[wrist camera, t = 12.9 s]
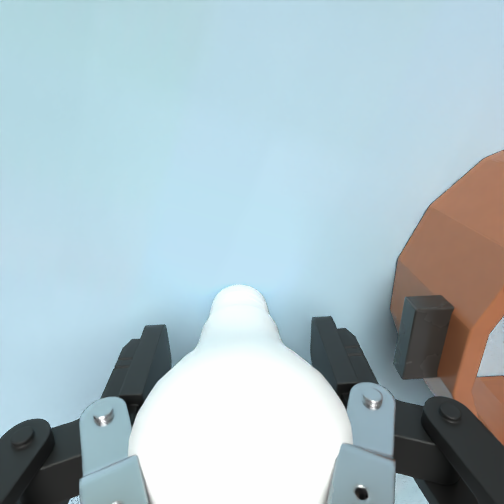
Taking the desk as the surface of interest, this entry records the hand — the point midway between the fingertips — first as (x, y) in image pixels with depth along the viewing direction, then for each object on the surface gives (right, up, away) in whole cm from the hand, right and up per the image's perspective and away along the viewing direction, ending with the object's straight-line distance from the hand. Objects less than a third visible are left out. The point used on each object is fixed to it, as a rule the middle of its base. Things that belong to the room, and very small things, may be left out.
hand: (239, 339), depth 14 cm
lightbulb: (0, +1, +3) cm, 3 cm away
